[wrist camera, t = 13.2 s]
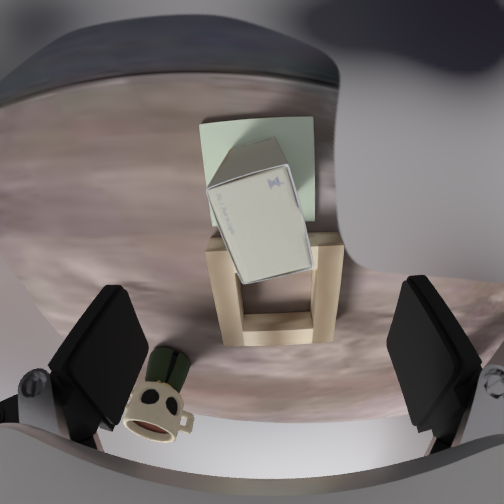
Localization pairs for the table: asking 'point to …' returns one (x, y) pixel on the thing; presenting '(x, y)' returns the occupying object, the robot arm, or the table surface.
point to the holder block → (278, 324)
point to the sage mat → (248, 130)
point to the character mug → (160, 399)
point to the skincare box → (260, 212)
